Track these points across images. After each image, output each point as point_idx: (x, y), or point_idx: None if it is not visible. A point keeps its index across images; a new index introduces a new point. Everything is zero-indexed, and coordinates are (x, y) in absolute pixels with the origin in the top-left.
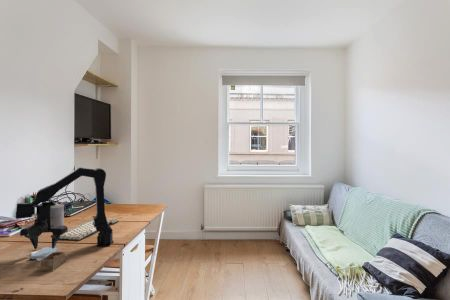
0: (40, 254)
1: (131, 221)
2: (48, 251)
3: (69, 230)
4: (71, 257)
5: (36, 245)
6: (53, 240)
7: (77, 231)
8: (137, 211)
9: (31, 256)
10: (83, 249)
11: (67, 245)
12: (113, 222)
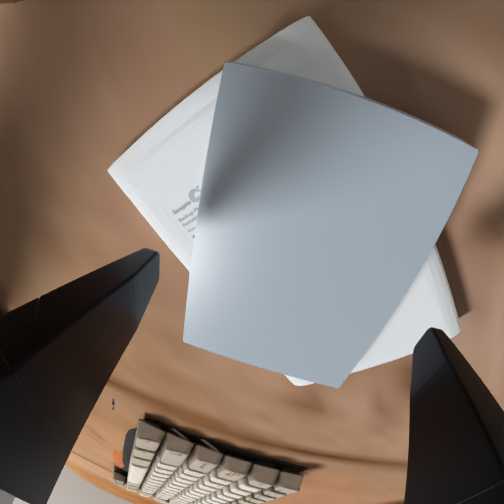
0: (331, 165)
1: (75, 452)
2: (245, 258)
3: (248, 500)
4: (3, 104)
5: (427, 380)
6: (12, 327)
7: (202, 484)
8: (116, 488)
9: (454, 138)
10: (17, 263)
11: (179, 387)
12: (113, 473)
